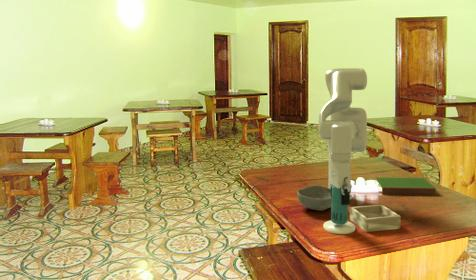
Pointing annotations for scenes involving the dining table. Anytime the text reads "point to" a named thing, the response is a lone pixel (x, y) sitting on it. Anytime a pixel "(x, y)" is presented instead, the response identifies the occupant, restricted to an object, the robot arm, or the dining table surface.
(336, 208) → the beverage bottle
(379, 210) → the wooden frame
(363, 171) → the dining table surface
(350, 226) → the plate
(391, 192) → the hardcover book
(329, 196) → the bowl
